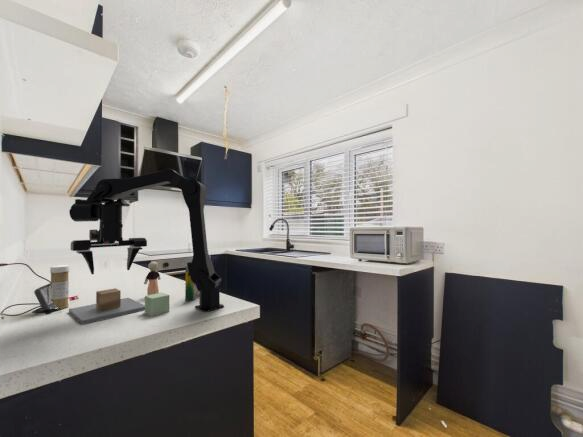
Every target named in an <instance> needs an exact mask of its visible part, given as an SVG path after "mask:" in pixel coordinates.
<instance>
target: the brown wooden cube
mask: <svg viewBox="0 0 583 437" xmlns="http://www.w3.org/2000/svg"><path fill="white" fill-rule="evenodd" d="M121 292H122V291H121V290H120V289H118V288H116V287H115V288H109V289H108V288H107V289H103V290H97V291H96V293H95V294H96V295H95V298H96V299H95V300H96V301H95V304H96V308H97V309H98V310H100V311H104V310H109V309H114V308H119V307H120V302H121V299H122V298H121V297H122V296H121Z"/></svg>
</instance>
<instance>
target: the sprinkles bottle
mask: <svg viewBox="0 0 583 437" xmlns="http://www.w3.org/2000/svg"><path fill="white" fill-rule="evenodd" d="M49 268H50V269H49V272H50V290H49V293H50V294H49V298H50V302H51V301H52V302H53V303H54V304H55V305H56V306H57V307H58V308H60V309H59V310H62V309H66V308H68V307H69V294H70V293H69V292H70V291H69V289H70V288H69V287H70V285H69V284H70V282H69V272H70V265H68V264H60V265H52V266H50V267H49Z"/></svg>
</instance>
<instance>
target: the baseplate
mask: <svg viewBox="0 0 583 437" xmlns="http://www.w3.org/2000/svg"><path fill="white" fill-rule="evenodd" d="M143 311H145V304H143V303H140V302H139V301H136V300H134V299H132V298H130V297H125V298H121V302H120V307H119V308H114V309H109V310H104V311H100V310H98V309H97V308H96V303H93V304H89V305H83V306H77V307H73V308H68V313H69V314H70V315H71V316H73V318H74V319H76V320H77V321H78V322H79V324H81V325H85V324H89V323H96V322H99V321H102V320H103V321H104V320H107V319H112V318H115V317H121V316H124V315H129V314H133V313H137V312H143Z"/></svg>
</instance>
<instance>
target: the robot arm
mask: <svg viewBox="0 0 583 437" xmlns="http://www.w3.org/2000/svg"><path fill="white" fill-rule="evenodd" d="M168 184H172V185H173V186H175V188H178V189H180V191H181V193H182V197H183V199H184V202H185V204H186V207H187V209H188V216H189V225H190V233H191V234H190V235H191V245H192V253H193V255H192V260H190V261H187V263H186V265H187V266H188V270H189V273H188V276H190V278H191V281H192V282H193V283H195V284H196V287H197V289H198V291H199V296H198V297H199V299H198V300H199V301H198V302H199V303H198V305H195V306H194V308H195V309H197V310H200V311H201V312H210V311H214V310H217V309H220V308H224V307H225V305H224V304H222V303H220V302H221V300H220V297H221V296H220V292H221V291H220V286H219V285H220V284H221V281H222V278H221V277H220V275H219V274H217V272H216V271H215V268H214V263H213V261H212V258H211V256H210V254H209V251H208V241H207V232H206V231H207V230H206V221H205V212H204V210H205V203H206V199H207V189H206V186H205V185H204V184H203V183H201V182H199V180H196V179H191V178H190V179H188V178H186V177H185V176H182V175H181V174H179V172H178V171H176V170H174V169H172V168H165V169H163V170H159V171H154V172H150V173H149V172H148V173H145V174H142V175H137V176H133V177H127V178H115V177H114V178H103V179H100V180H98V182H97V184H96V186H95V188H94V189H93V191H91V193H90V194H89V196H88V197H86V198H87V199H82V198H81V199H78V198H77V199H74V203H73V204H72V205H71V206H70V209H69V210H68V211H69V216H70V218H71V220H72V221H74V222H76V223H77V222H98V221H99V228H98V229H90V230H89V234H88V236H89V239H76V240H72V241H71V242H70V251H73V252H76V254H81V255H82V256H83V259H84V260H85V262H86V264H87V266H88V270H89V272H90V274H91V275H94V274H95V265H94V256H93V251H92V250H91V248H93V249H94V248H95V249H96V248H108V247H109V248H110V247H111V248H112V247H125V246H128V247H127V258H126V259H127V260H126V270H127V271H131V270H130V269H131V267H132V265H133V263H134V260H135V259H136V256H137V254H138V252H139V251H140V250H143V247H147V246H148V240H147V239H146V237H129V238H128V239H127V240H126V239H124V238H123V227H124V225H123V207H130V205H131V204H130V203H128V202H127V201H125V198H126V197H129V196H130V195H132V194H133V193H135V192H138V191H139V192H140V191H143V190H148V189H153V188H155V187H160V186H164V185H168Z"/></svg>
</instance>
